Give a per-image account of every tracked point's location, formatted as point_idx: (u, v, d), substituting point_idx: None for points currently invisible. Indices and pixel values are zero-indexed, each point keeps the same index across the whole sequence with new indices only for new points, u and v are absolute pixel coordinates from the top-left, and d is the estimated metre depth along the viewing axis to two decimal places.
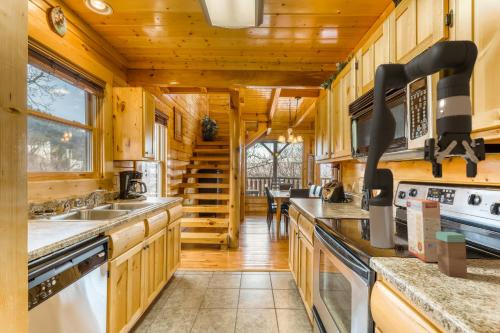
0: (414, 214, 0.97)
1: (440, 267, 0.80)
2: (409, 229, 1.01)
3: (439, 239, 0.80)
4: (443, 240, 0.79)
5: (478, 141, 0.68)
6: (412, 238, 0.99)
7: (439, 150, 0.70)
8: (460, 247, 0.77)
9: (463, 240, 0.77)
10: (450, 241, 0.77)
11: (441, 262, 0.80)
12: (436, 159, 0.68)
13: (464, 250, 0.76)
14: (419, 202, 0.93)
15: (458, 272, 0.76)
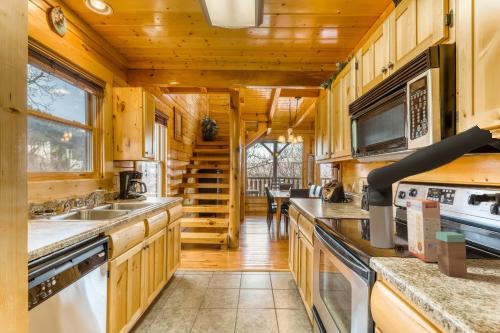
0: (414, 214, 0.97)
1: (440, 267, 0.80)
2: (409, 229, 1.01)
3: (439, 239, 0.80)
4: (443, 240, 0.79)
5: None
6: (412, 238, 0.99)
7: None
8: (460, 247, 0.77)
9: (463, 240, 0.77)
10: (450, 241, 0.77)
11: (441, 262, 0.80)
12: None
13: (464, 250, 0.76)
14: (418, 202, 0.93)
15: (458, 272, 0.76)
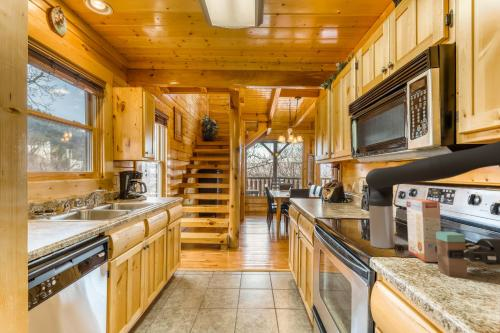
0: (414, 214, 0.97)
1: (440, 267, 0.80)
2: (409, 229, 1.01)
3: (439, 239, 0.80)
4: (443, 240, 0.79)
5: None
6: (412, 238, 0.99)
7: None
8: (460, 247, 0.77)
9: (463, 240, 0.77)
10: (450, 241, 0.77)
11: (441, 262, 0.80)
12: None
13: (464, 249, 0.76)
14: (418, 202, 0.93)
15: (458, 272, 0.76)
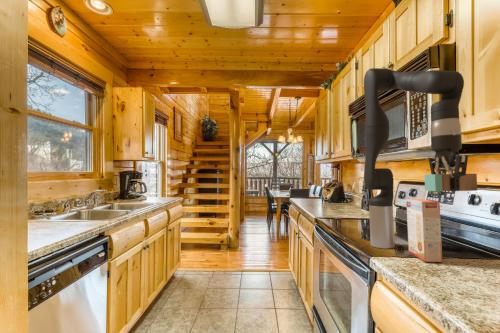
0: (414, 214, 0.97)
1: None
2: (409, 229, 1.01)
3: None
4: None
5: None
6: (412, 238, 0.99)
7: None
8: (447, 179, 0.78)
9: (440, 176, 0.78)
10: (441, 188, 0.78)
11: None
12: None
13: None
14: (418, 202, 0.93)
15: (472, 181, 0.77)
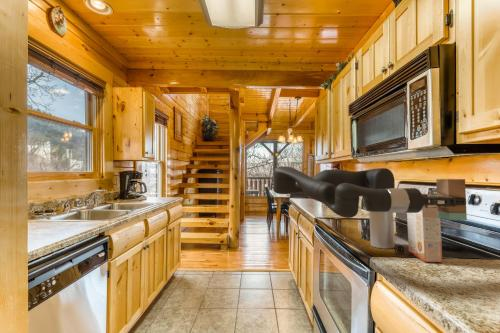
0: (414, 214, 0.97)
1: None
2: (409, 229, 1.01)
3: None
4: None
5: None
6: (412, 238, 0.99)
7: None
8: (454, 207, 0.77)
9: (450, 214, 0.77)
10: (463, 213, 0.77)
11: None
12: (450, 198, 0.76)
13: None
14: None
15: (456, 183, 0.78)
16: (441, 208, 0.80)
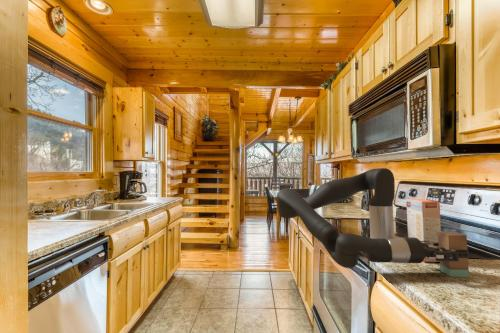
0: (414, 214, 0.97)
1: None
2: (409, 229, 1.01)
3: None
4: None
5: None
6: None
7: None
8: (455, 263, 0.77)
9: (452, 271, 0.76)
10: (465, 270, 0.76)
11: None
12: None
13: (451, 261, 0.77)
14: (418, 202, 0.93)
15: (457, 239, 0.77)
16: (443, 262, 0.80)
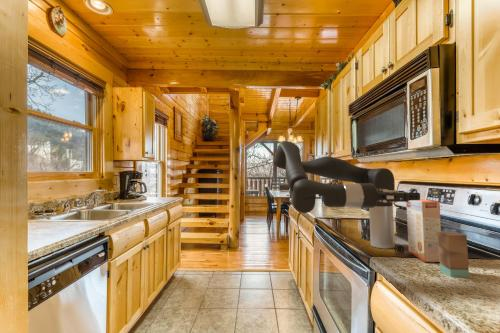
0: (414, 214, 0.97)
1: None
2: (409, 229, 1.01)
3: None
4: None
5: None
6: (412, 238, 0.99)
7: None
8: (455, 263, 0.77)
9: (452, 271, 0.76)
10: (465, 270, 0.76)
11: None
12: None
13: (451, 261, 0.77)
14: (418, 202, 0.93)
15: (457, 239, 0.77)
16: (443, 262, 0.80)
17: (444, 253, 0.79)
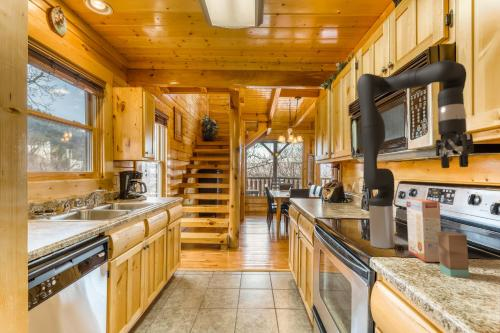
0: (414, 214, 0.97)
1: None
2: (409, 229, 1.01)
3: None
4: None
5: None
6: (412, 238, 0.99)
7: None
8: (455, 263, 0.77)
9: (452, 271, 0.76)
10: (465, 270, 0.76)
11: None
12: None
13: (451, 261, 0.77)
14: (418, 202, 0.93)
15: (457, 239, 0.77)
16: (443, 262, 0.80)
17: (444, 253, 0.79)
